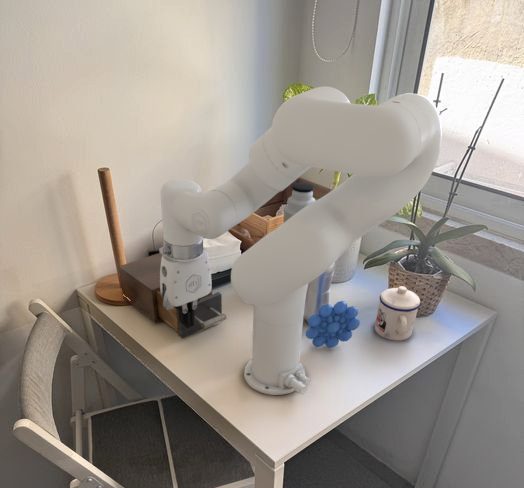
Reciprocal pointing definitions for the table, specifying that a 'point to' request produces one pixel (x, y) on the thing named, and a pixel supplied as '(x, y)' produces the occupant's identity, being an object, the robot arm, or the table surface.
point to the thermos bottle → (298, 199)
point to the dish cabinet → (142, 284)
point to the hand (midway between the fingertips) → (187, 324)
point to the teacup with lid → (396, 313)
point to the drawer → (204, 313)
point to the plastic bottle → (318, 293)
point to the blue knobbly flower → (332, 324)
